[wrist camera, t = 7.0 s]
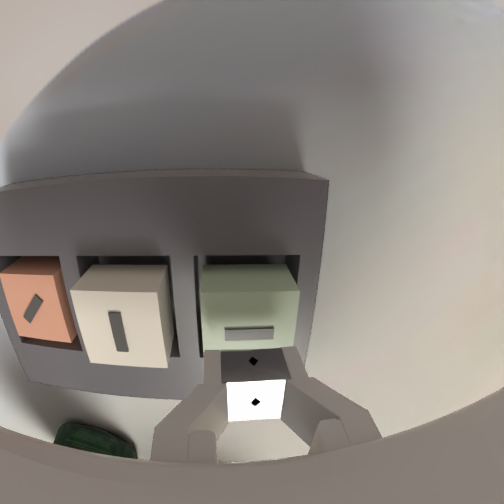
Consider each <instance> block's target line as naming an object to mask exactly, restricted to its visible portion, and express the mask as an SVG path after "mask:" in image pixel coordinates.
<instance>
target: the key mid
mask: <svg viewBox="0 0 504 504" xmlns="http://www.w3.org/2000/svg"><path fill="white" fill-rule="evenodd" d="M70 293H71V297H72V301H73V305H74V309H75V313H76V317H77V320H78V324H79V328H80V331H81V335H82V338H83V341H84V344H85V348H86V351H87V354H88V357H89V360H90V363H99V364H109V365H121V366H135V367H152V368H168V365H169V359H170V354H171V348H172V343H173V337H174V327H173V319H172V309H171V300H170V289H169V277H168V265H92V266H91V267H90V268H89V269H88V270H87V271H86V272H85V274H84V275H83V276H82V277H81V278H80V279H79V280H78V281H77V283H76V284H75V285H74V286H73V287H72V288H71V289H70Z"/></svg>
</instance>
